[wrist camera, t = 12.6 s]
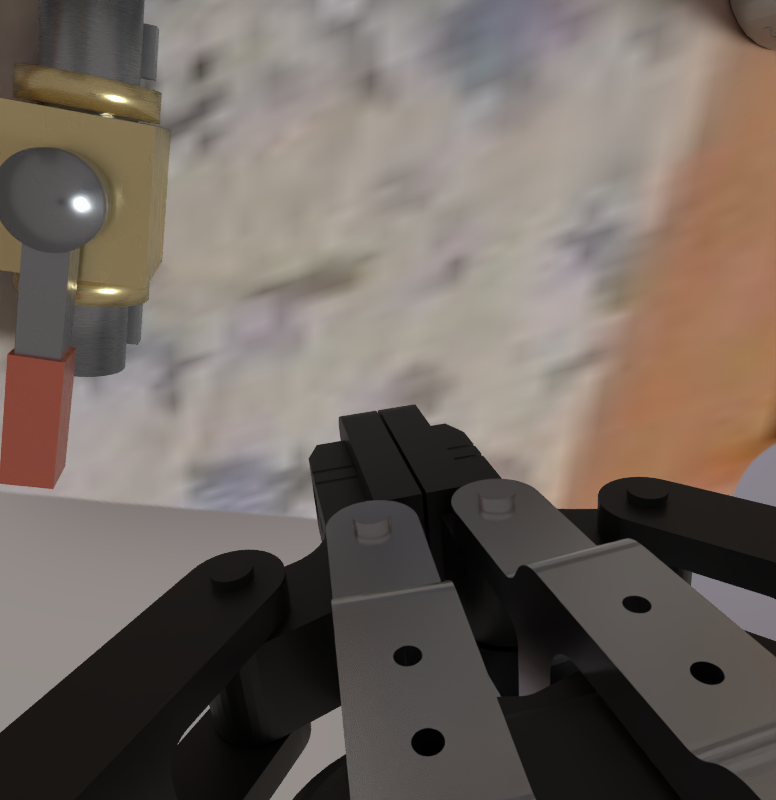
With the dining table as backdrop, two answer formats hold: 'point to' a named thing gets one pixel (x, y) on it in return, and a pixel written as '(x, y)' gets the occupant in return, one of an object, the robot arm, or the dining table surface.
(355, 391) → the dining table surface
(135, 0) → the valve pipe
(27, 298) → the lever
